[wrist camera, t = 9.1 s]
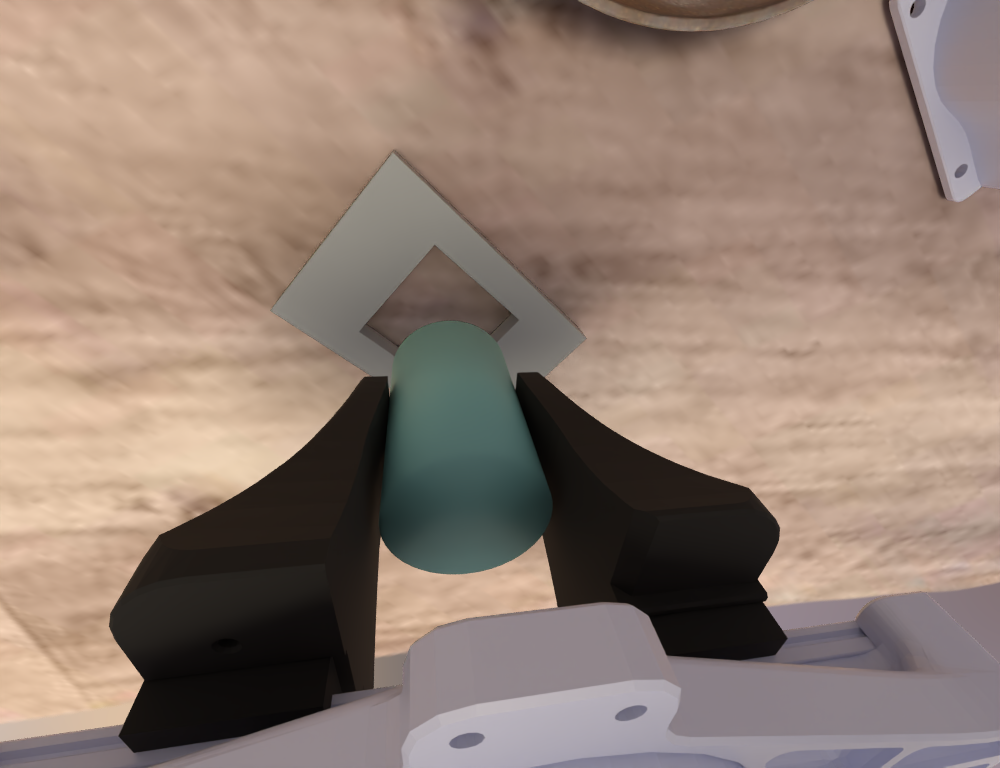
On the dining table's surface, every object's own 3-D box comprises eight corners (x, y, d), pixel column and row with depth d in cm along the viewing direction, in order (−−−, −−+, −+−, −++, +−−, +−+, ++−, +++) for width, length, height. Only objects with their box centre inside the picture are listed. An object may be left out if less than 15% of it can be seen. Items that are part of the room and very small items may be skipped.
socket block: (579, 328, 19) (586, 338, 19) (471, 428, 21) (473, 441, 21) (393, 149, 15) (392, 152, 14) (277, 300, 17) (270, 310, 16)
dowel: (527, 365, 14) (585, 504, 10) (454, 434, 16) (472, 592, 11) (444, 297, 13) (462, 422, 8) (368, 379, 14) (341, 536, 9)
